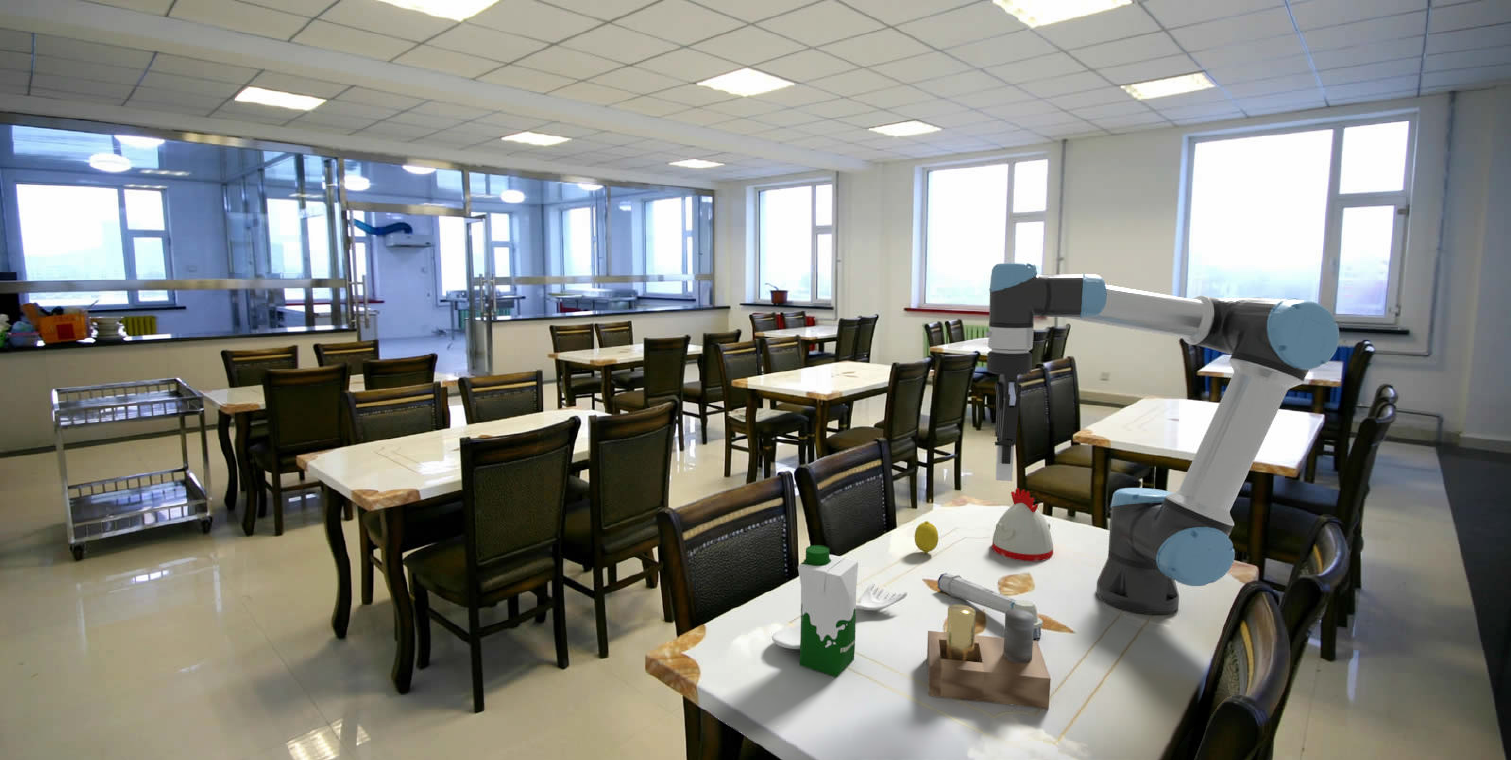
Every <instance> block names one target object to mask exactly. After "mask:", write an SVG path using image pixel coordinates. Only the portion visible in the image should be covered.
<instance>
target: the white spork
mask: <svg viewBox="0 0 1511 760" xmlns="http://www.w3.org/2000/svg"><path fill="white" fill-rule="evenodd" d="M879 588H880V586H876V587H875V582H871V583H870V584H869V585H868V587H867V588H866V589H865V591H864V593H863V594H861V596H860V598H859V599H858V600H859V601H858V602H856V609H859V610H865V611H879V610H880V611H881V610H884V609H885V608H889V607H890V606H891V605H894V604H896V603H898V602H900V601H902V600H903V599H905V598H906V597H907V595H908V592H907V591H904V592H903V593H901V592H898V593H897V592H893V593H891V594H890V591H886V592H884V593H883V591H884V589H883V588H880V589H879ZM882 593H883V594H882ZM896 593H897V594H896ZM889 594H890V595H889ZM800 638H801V624H797V625H794V626H791V627H788V628H785V629H782V630H780V631H776V632H775V633H774V634H772V636H771V639H772V641H773V643H774V644H775V645H777V646H779V647H780V648H784V649H790V650H800Z"/></svg>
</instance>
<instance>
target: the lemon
mask: <svg viewBox="0 0 1511 760" xmlns="http://www.w3.org/2000/svg"><path fill="white" fill-rule="evenodd" d="M938 542H939V532H938V529H937V528H936V526H935V525H934V524H933V523H931V522H929V521H927V520H925V521H924V522H921V523H919V524H918V525H917V527H916V528H915V532H914V543H915V545H916V547H917V549H919V551H922V552H923V553H924V554H925V555H926V554H928V553H929V552H932V551H934V550H935V549H936V548H937V546H938Z"/></svg>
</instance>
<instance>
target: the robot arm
mask: <svg viewBox="0 0 1511 760" xmlns="http://www.w3.org/2000/svg"><path fill="white" fill-rule="evenodd" d="M988 289H989V290H988V292H989V309H988V310H989V311H988V312H989V313H988V314H989V317H988V318H989V321H988V330H989V331H985V333H984V337H985V338H988V339H987V340H988V341H987V348H989V349H990V351H988V352H987V354H986V356H987V357H986V360H987V361H986V370H987V372H988V373H991V374H996V375H999V379H998V381H995V385H994V386H995V388H994V389H995V392H996V394H995V395H996V396H995V397H996V398H995V404H996V410H995V411H996V419H995V421H996V425H995V427H996V428H995V436H996V441H994V446H996V461H995V462H996V463H995V465H996V466H995V480H996V481H1004V482H1005V481H1007V482H1013V472H1014V470H1013V469H1014V453H1015V452H1014V449H1015V446H1016V445H1017V436H1018V435H1017V434H1018V432H1017V431H1018V425H1019V423H1018V421H1019V412H1020V411H1019V410H1020V403H1021V400H1022V396H1021V394H1022V384H1020V383H1019V382H1018V381H1019V379H1018V376H1020V375H1022V376H1024V375H1028V374H1030V373H1031V371H1032V364H1033V363H1032V361H1033V354H1032V353H1031V352H1029V351H1031V350H1032V349H1033V346H1034V330H1035V329H1034V327H1035V326H1034V325H1035V324H1034V322H1035V321H1034V319H1035V318H1063V319H1064V318H1065V319H1071V320H1077V321H1080V322H1081V321H1082V322H1087V323H1088V322H1089V323H1093V324H1100V325H1106V326H1112V327H1118V328H1122V329H1123V328H1124V329H1130V330H1135V331H1140V332H1141V331H1142V332H1145V333H1146V332H1149V333H1153V334H1158V335H1165V336H1171V337H1177V338H1182V340H1183V342H1185V343H1187V344H1188V345H1193V346H1197V347H1198V346H1200V347H1203V348H1207V349H1210V350H1215V351H1217V352H1221V353H1224V354H1226V355H1230V357H1229V363H1230V365H1231V368H1232V369H1233V373H1232V374H1233V375H1232V376H1231V377H1230V380H1229V383H1228V385H1227V386H1226V389H1225V391H1224V393H1223V396H1222V397H1221V399H1220V402H1219V404H1218V406H1217V408H1216V411H1215V412H1214V415H1213V417H1212V419H1211V421H1210V423H1209V425H1208V428H1207V429H1206V432H1205V434H1204V436H1203V437H1202V441H1201V443H1200V445H1199V446H1198V448H1197V451H1196V453H1195V455H1194V457H1193V459H1192V461H1191V463H1190V465H1189V468H1188V469H1187V472H1186V474H1185V477H1184V479H1183V480H1182V483H1181V485H1180V487H1179V489H1178V490H1177V491H1176V492H1171V491H1168V490H1163V489H1156V488H1145V487H1144V488H1143V487H1125V488H1119V489H1117V490H1115V491H1114V493H1113V494H1112V498H1111V503H1110V522H1109V523H1110V524H1109V533H1108V537H1109V538H1108V554H1107V558H1106V561H1105V563H1104V565H1103V568H1102V570H1101V572H1100V574H1099V576H1098V578H1097V581H1096V587H1095V588H1096V589H1095V592H1096V595H1097V596H1098V597H1099V599H1101V600H1102V601H1104V602H1105V603H1106V604H1108V605H1111V606H1113V607H1115V608H1118V609H1121V610H1124V611H1127V612H1128V611H1129V612H1132V613H1137V614H1142V615H1143V614H1145V615H1165V614H1166V615H1167V614H1171V613H1174V612H1175V611H1176V610H1177V609H1178V608H1179V604H1180V603H1179V602H1180V594H1179V591H1178V586H1177V583H1179V584H1181V585H1185V586H1190V587H1203V586H1206V585H1208V584H1213V583H1215V582H1217V581H1220V580H1221V579H1222V578H1223V577H1224V576H1226V574H1228V572H1229V571H1230V569H1231V568H1232V567H1233V564H1234V561H1235V554H1236V551H1235V548H1234V547H1233V546H1234V543H1233V542H1232V540H1231V538H1229V537H1230V535H1231V532H1232V531H1233V528H1234V526H1235V522H1234V520H1233V518H1232V516H1231V513H1230V512H1231V509H1232V507H1233V505H1234V502H1235V501H1236V500H1237V498H1238V495H1239V492H1240V490H1241V488H1242V486H1243V485H1244V482H1245V480H1246V478H1247V476H1248V474H1249V471H1250V470H1251V468H1252V465H1253V463H1254V461H1255V459H1256V457H1257V455H1258V453H1259V451H1260V449H1261V446H1262V444H1263V443H1264V441H1265V439H1266V437H1267V435H1268V432H1269V430H1270V428H1271V425H1272V423H1273V421H1274V419H1275V417H1276V416H1277V414H1278V412H1279V409H1280V406H1282V403H1283V401H1284V399H1285V396H1286V395H1287V393H1288V391H1289V390H1290V389H1292V388H1295V387H1297V386H1300V385H1303V383H1304V381H1305V379H1306V376H1307V375H1308V373H1309V371H1310V370H1311V371H1312V370H1314V369H1317V368H1319V367H1321V366H1322V365H1325V364H1327V363H1328V362H1329V361H1330V360H1331V359H1332V357H1334V355H1335V354H1336V352H1337V349H1338V347H1339V343H1340V342H1339V341H1340V329H1339V325H1338V323H1336V319H1335V316H1334V315H1333V314H1332V312H1330V310H1329V309H1327V308H1326V307H1325V306H1323V305H1321V304H1320V303H1317V302H1315V301H1310V300H1303V299H1298V298H1296V297H1295V298H1291V297H1290V298H1269V297H1267V298H1266V297H1264V298H1263V297H1215V296H1214V297H1212V296H1206V295H1197V296H1196V297H1194V298H1192V299H1191V298H1185V297H1181V296H1180V297H1179V296H1175V295H1168V294H1163V293H1162V294H1161V293H1157V292H1150V291H1146V290H1145V291H1144V290H1139V289H1138V290H1137V289H1133V288H1132V289H1131V288H1127V287H1122V286H1121V287H1120V286H1113V285H1107V284H1106V282H1105V280H1104V278H1103V277H1102V276H1101V275H1098V274H1087V273H1076V274H1075V273H1073V274H1071V273H1069V274H1068V273H1067V274H1065V273H1064V274H1059V273H1058V274H1041V273H1038V271H1037V266H1036V265H1035V264H1034V263H1031V262H1028V263H1026V262H1022V263H1021V262H1020V263H1019V262H1017V263H1015V262H1014V263H1013V262H1012V263H1010V262H1009V263H1008V262H1007V263H1006V262H1005V263H997V264H995V265H994V266H993V267H992V269H991V274H990V284H989V288H988Z"/></svg>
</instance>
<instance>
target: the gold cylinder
mask: <svg viewBox="0 0 1511 760" xmlns="http://www.w3.org/2000/svg"><path fill="white" fill-rule="evenodd" d="M976 613H977V612H976V609H974V608H973V607H971V606H969V605H965V604H952V605H950V606H948V608H947V623H946V632H947V644H946V659H949V660H959V661H969V662H974V642H975V635H976V616H977V615H976Z"/></svg>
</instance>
